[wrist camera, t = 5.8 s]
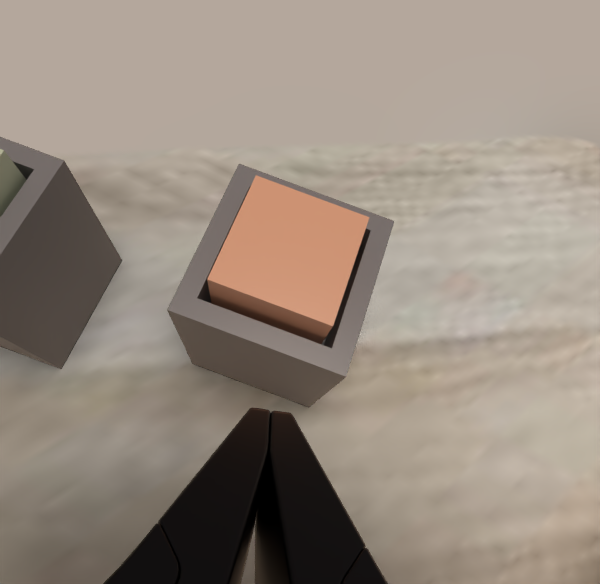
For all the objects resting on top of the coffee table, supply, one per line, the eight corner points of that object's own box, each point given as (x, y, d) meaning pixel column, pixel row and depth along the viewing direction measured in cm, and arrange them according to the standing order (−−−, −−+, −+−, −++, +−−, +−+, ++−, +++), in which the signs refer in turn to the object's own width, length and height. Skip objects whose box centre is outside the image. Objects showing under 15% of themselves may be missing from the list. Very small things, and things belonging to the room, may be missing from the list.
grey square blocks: (345, 298, 24) (394, 220, 17) (195, 749, 17) (158, 981, 9) (-38, 155, 24) (-166, 13, 17) (-343, 543, 17) (-810, 606, 10)
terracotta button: (352, 250, 17) (369, 217, 15) (319, 346, 16) (332, 326, 14) (253, 213, 17) (255, 175, 15) (211, 306, 16) (207, 279, 14)
